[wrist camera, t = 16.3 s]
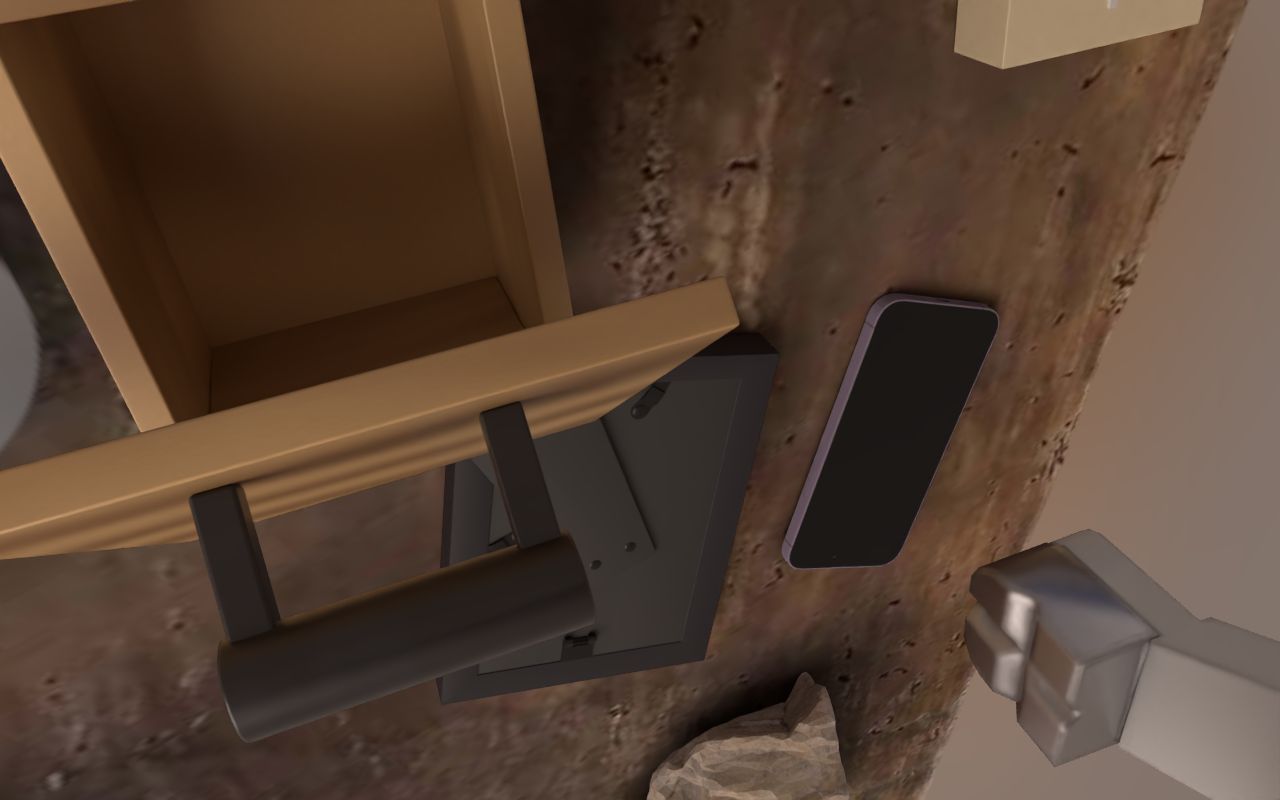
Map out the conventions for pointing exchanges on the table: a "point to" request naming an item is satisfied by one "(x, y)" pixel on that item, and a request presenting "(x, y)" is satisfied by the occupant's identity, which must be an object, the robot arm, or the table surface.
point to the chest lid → (360, 459)
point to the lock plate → (1060, 26)
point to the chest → (280, 185)
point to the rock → (761, 755)
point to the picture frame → (629, 519)
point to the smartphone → (888, 430)
